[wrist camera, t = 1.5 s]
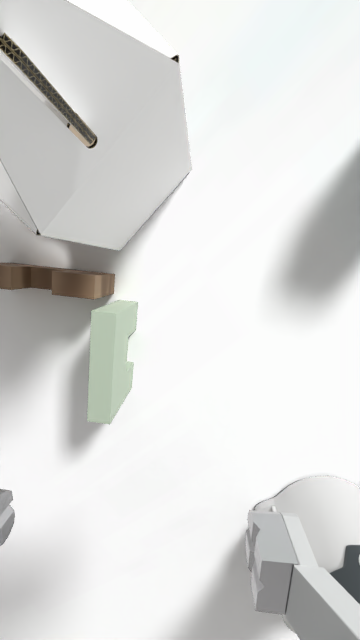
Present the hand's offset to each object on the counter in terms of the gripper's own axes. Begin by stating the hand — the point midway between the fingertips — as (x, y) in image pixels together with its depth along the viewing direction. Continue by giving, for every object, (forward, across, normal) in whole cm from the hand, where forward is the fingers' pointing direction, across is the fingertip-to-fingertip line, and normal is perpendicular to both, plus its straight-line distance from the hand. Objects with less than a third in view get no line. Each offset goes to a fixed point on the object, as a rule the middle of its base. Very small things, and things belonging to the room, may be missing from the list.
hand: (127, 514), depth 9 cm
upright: (+28, +16, -6) cm, 32 cm away
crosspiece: (+27, +7, +3) cm, 28 cm away
